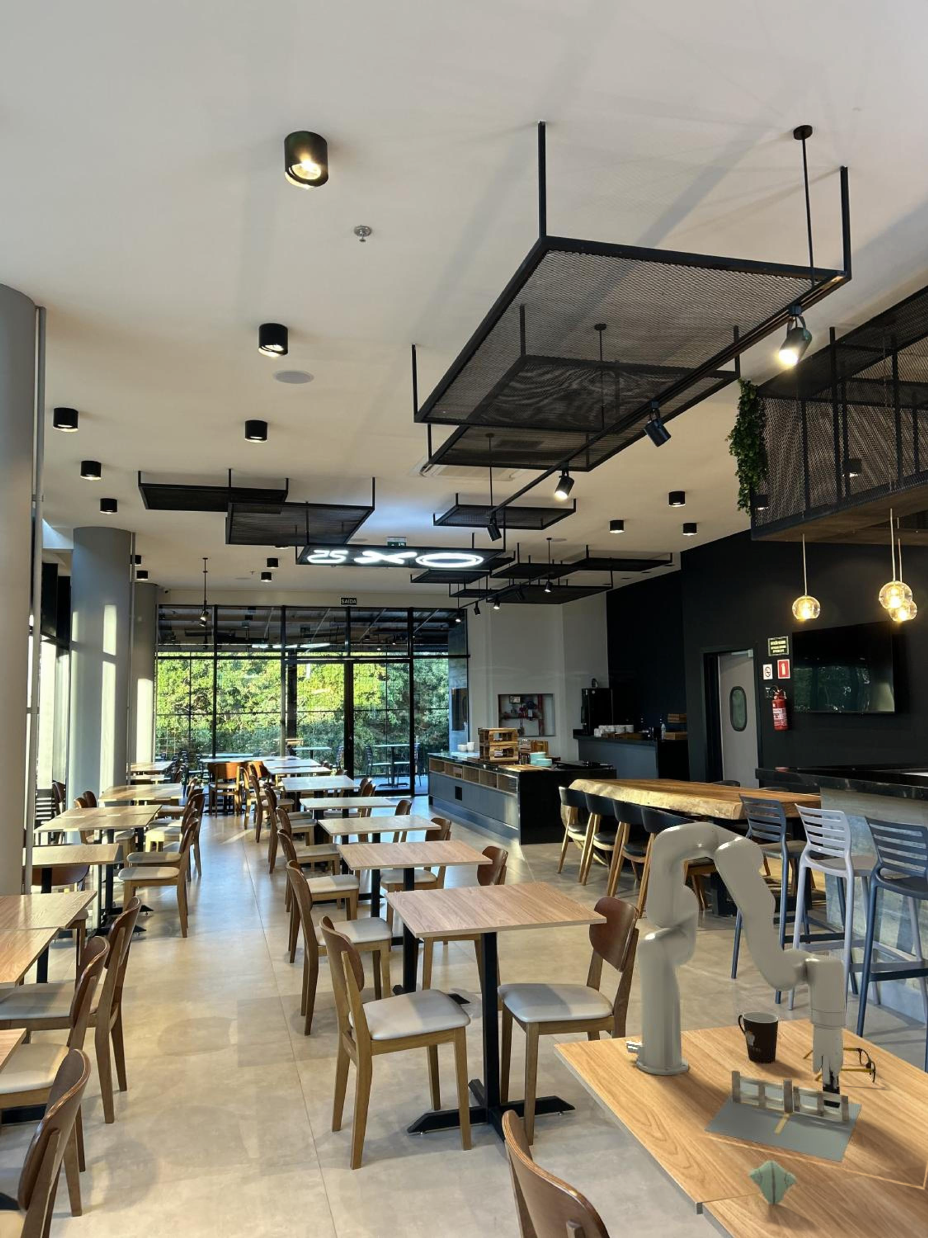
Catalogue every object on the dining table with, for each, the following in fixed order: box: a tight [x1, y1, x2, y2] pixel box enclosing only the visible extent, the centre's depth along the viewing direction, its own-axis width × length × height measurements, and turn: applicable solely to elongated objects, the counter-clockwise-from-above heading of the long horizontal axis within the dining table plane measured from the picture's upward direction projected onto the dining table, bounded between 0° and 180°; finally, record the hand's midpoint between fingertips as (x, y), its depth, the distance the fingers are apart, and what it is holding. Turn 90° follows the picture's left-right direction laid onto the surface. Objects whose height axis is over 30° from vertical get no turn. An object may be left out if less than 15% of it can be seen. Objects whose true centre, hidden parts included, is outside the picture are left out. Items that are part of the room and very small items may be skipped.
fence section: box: [731, 1070, 793, 1113], centre depth 194 cm, size 13×2×6 cm, turn 59°
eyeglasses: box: [802, 1046, 877, 1083], centre depth 215 cm, size 14×14×4 cm
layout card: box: [704, 1082, 863, 1163], centre depth 188 cm, size 26×30×1 cm
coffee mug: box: [737, 1011, 779, 1065], centre depth 224 cm, size 12×9×10 cm
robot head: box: [748, 1159, 798, 1205], centre depth 155 cm, size 8×4×7 cm, turn 78°
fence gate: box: [792, 1085, 849, 1122], centre depth 188 cm, size 11×1×5 cm, turn 59°
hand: (831, 1105), depth 191 cm, fingers closed
